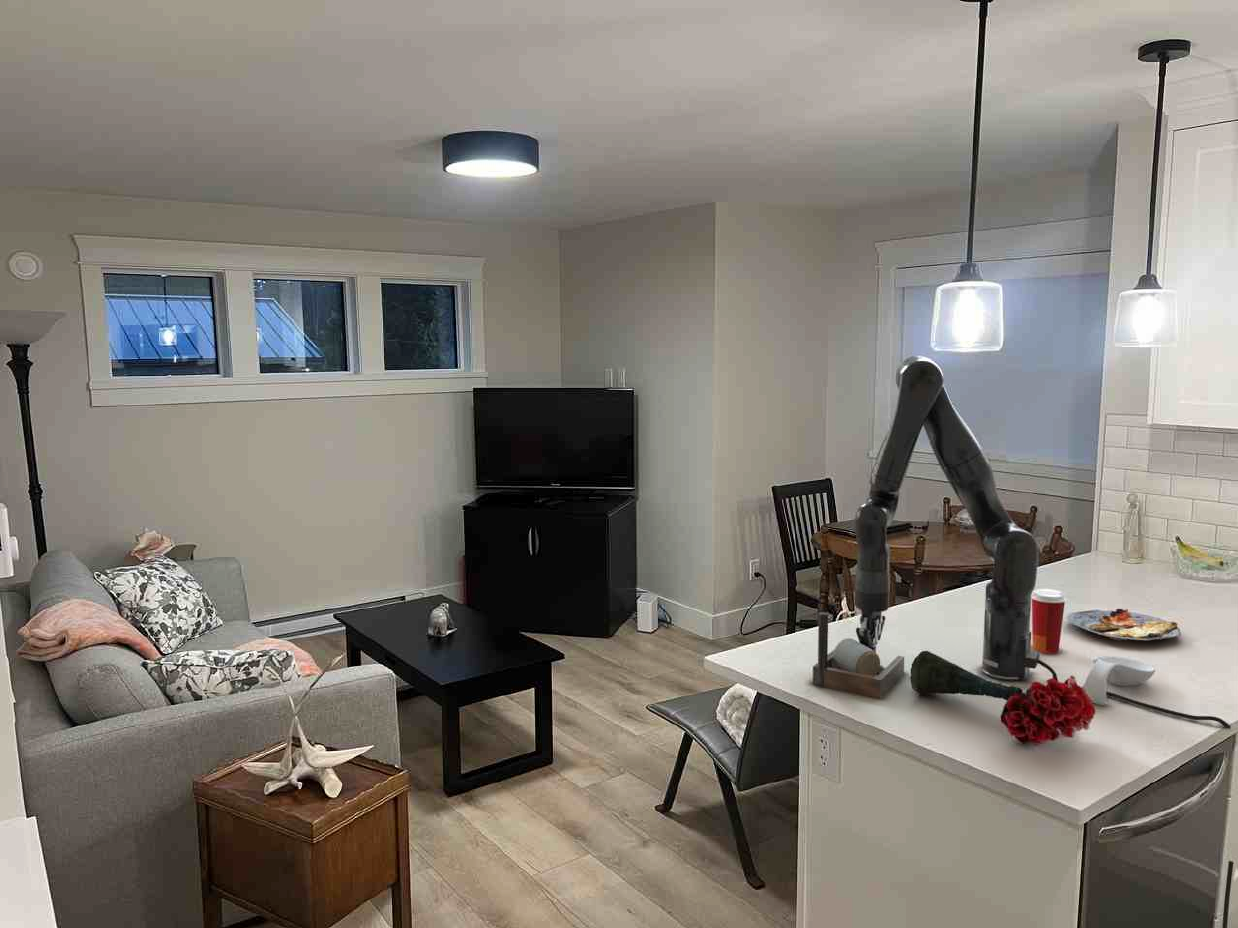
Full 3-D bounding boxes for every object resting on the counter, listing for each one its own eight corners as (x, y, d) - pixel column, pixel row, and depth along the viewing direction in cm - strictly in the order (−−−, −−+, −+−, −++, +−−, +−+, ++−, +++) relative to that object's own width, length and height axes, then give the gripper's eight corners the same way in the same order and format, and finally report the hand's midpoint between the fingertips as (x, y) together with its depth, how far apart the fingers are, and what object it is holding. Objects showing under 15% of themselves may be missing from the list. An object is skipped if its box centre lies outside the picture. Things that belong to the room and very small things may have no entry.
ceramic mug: (856, 685, 194) (858, 651, 193) (831, 673, 201) (832, 640, 200) (893, 677, 198) (895, 643, 197) (867, 665, 206) (868, 633, 205)
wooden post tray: (903, 673, 200) (906, 604, 198) (879, 699, 186) (881, 624, 184) (839, 661, 208) (841, 594, 206) (812, 684, 195) (813, 613, 192)
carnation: (918, 729, 190) (1093, 780, 163) (879, 691, 179) (1058, 739, 153) (943, 662, 195) (1116, 701, 168) (906, 621, 185) (1084, 656, 158)
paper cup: (1063, 646, 216) (1066, 590, 214) (1063, 657, 209) (1067, 598, 207) (1027, 642, 219) (1030, 586, 217) (1026, 652, 212) (1029, 595, 210)
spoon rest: (1102, 666, 203) (1104, 636, 202) (1161, 680, 194) (1163, 648, 193) (1063, 696, 186) (1065, 663, 185) (1126, 713, 178) (1128, 678, 177)
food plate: (1122, 613, 241) (1123, 600, 240) (1202, 640, 219) (1203, 626, 218) (1047, 623, 233) (1047, 610, 233) (1122, 652, 211) (1123, 638, 211)
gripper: (878, 597, 195) (875, 673, 197) (898, 583, 205) (895, 655, 208) (845, 591, 199) (842, 666, 202) (866, 578, 210) (863, 649, 212)
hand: (869, 661), depth 205 cm, fingers closed
